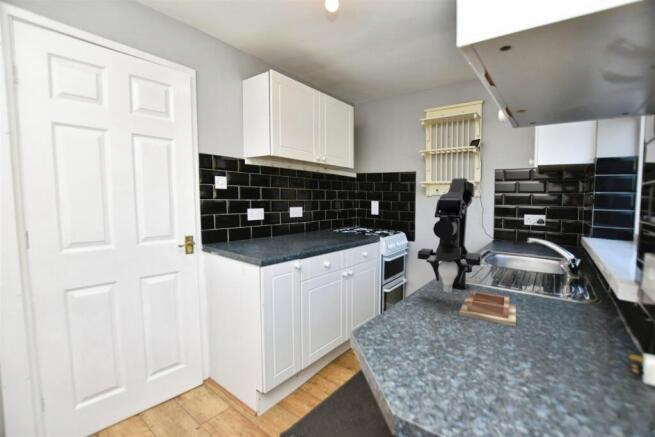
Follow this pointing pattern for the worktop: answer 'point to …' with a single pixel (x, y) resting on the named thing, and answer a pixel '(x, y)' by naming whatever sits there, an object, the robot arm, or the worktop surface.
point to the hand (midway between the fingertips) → (447, 282)
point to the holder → (489, 308)
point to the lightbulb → (448, 274)
